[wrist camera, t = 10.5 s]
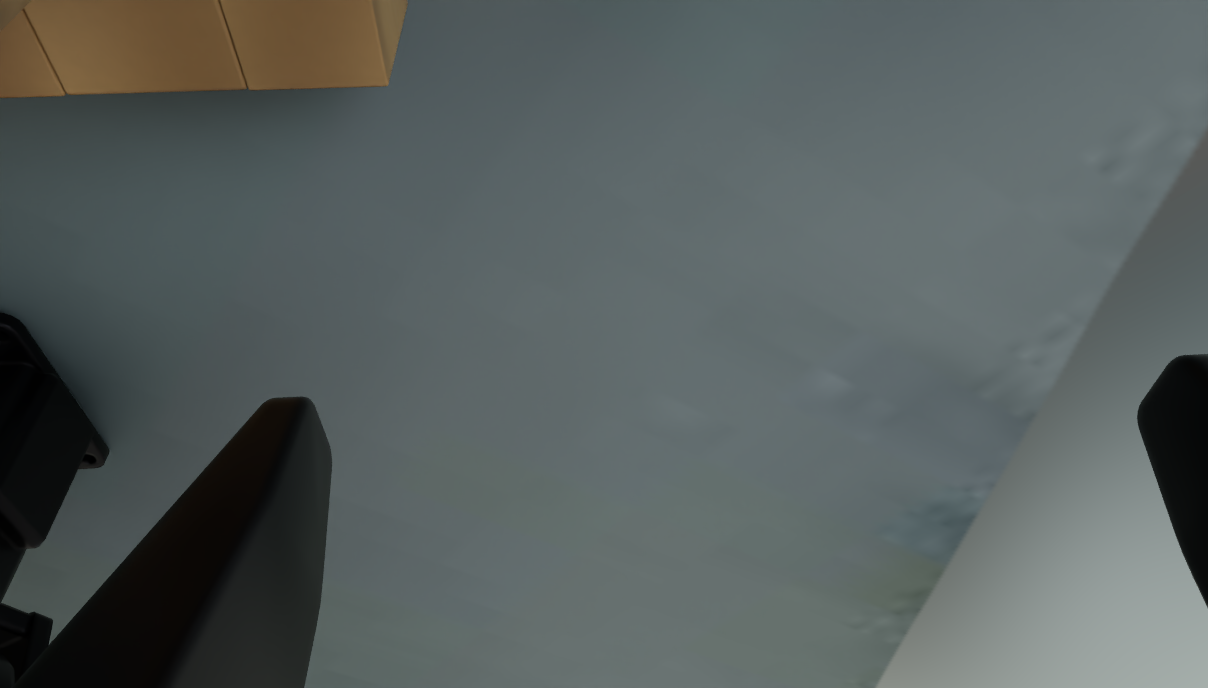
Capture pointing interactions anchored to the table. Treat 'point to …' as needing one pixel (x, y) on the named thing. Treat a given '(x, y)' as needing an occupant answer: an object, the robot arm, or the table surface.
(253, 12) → the rack
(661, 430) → the table surface
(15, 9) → the beech dowel
